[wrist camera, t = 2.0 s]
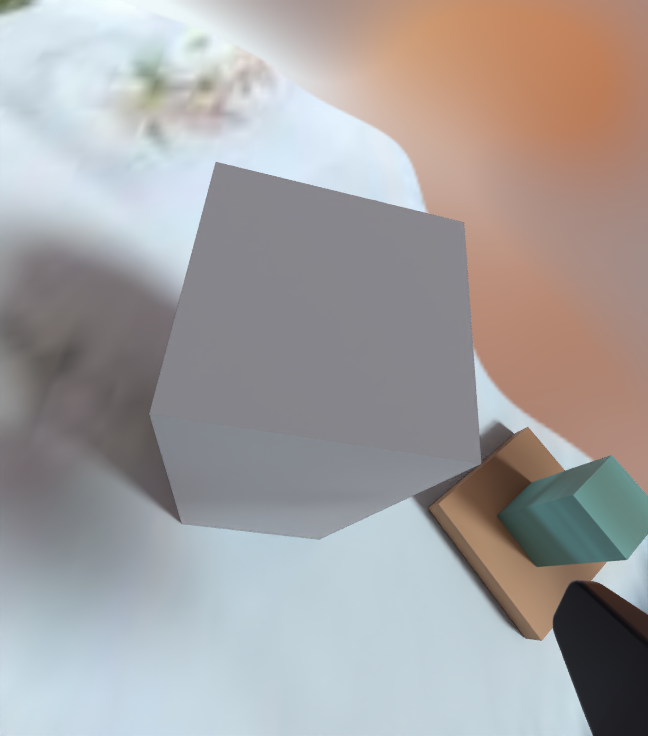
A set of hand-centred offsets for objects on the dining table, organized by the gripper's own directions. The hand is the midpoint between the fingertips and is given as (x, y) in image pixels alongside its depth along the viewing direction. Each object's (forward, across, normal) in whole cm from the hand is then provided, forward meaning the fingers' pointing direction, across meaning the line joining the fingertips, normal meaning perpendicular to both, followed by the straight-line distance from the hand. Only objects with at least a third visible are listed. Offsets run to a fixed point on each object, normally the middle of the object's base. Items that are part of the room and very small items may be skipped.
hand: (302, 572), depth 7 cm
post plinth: (+10, -11, +6) cm, 16 cm away
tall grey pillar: (+11, 0, +5) cm, 12 cm away
